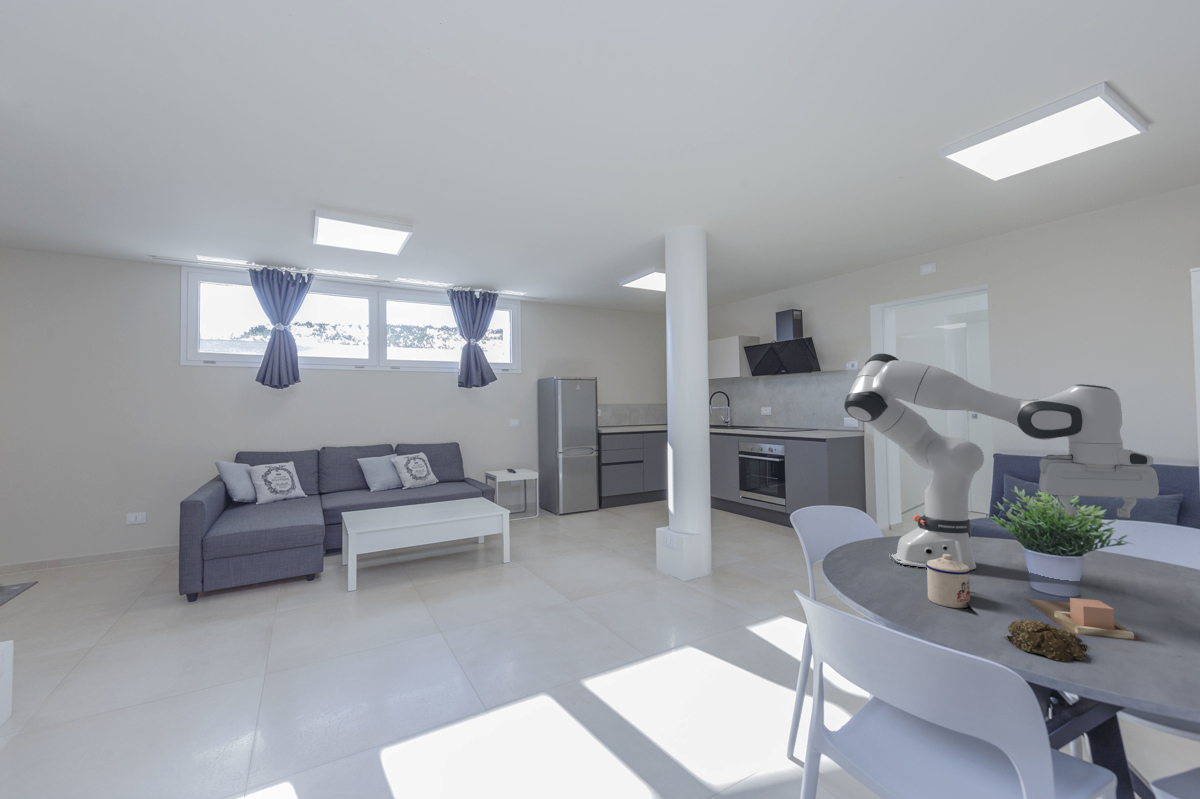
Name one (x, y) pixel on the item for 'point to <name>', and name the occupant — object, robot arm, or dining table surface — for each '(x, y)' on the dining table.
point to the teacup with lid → (948, 582)
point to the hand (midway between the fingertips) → (1096, 516)
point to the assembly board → (1062, 617)
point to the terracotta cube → (1091, 613)
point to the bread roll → (1046, 641)
